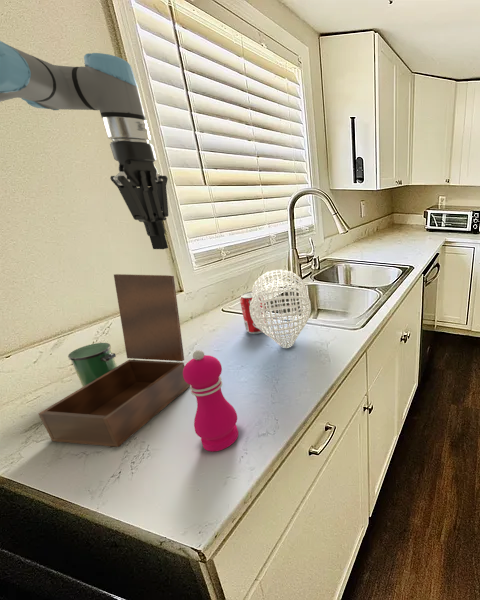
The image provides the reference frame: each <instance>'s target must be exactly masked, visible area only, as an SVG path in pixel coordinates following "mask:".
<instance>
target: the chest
mask: <svg viewBox="0 0 480 600" xmlns="http://www.w3.org/2000/svg"><path fill="white" fill-rule="evenodd" d="M184 366H185V363H184V362H183V361H166V360H148V359H128V360H125V361H124V362H122V363H121V364H119V365H117V367H116V368H114V369H112V370H111V371H109V372H107V373H106V374H104V375H102V376H101V377H99V378H97V379H96V380H94V381H92V382H90V383H89V384H87V385H85V386H84V387H82V386H81V387H80V388H79V389H77V390H75V391H74V392H72V393H70V394H68V395H67V396H66V397H64V398H62V399H60V400H58V401H57V402H55V403H53V404H52V405H50V406H49V407H47V408H45V409H43V410H41V411H39V412H38V417H39V418H40V420H41V422H42V424H43V426H44V428H45V430H46V432H47V434H48V436H49V438H50V440H51V441H52V442H58V443H69V444H70V443H71V444H78V445H79V444H81V445H92V446H102V447H115V448H119V447H120V446H121V445H123V443H125V442H126V441H127V440H128V439H130V438H131V437H132V436H133V435H134V434H135V433H137V432H138V431H140V429H141V428H142V427H144V426H146V424H147V423H149V422H150V421H151V420H152V419H153V418H155V416H157V415H159V413H160V412H161V411H162V410H164V409H165V408H167V407H168V406H169V405H170V404H171V403H172V402H173V401H174V400H176V399H177V398H179V396H180V395H182V394H183V393H184V392H185V391H186V390H187V389H189V388H190V385H189V384H188V383H186V382H185V380H184V378H183V369H184Z"/></svg>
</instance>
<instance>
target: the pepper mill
mask: <svg viewBox="0 0 480 600" xmlns="http://www.w3.org/2000/svg"><path fill="white" fill-rule="evenodd" d="M222 368H223V367H222V364H221V362H220V360H219V359H218V358H217V357H216V356H213V355H209V354H206V355H205V352H204V351H203V350H201V349H197V350H194V351H193V353H192V358H191V359H190V360H188V362H186V364H184V369H183V378H184V380H185V382H186V383H188V384H189V385H190V387H189V389H190V391H191V392H190V393H191V394H192V395H193V396H194V397H195V398H196V404H197V407H196V412H195V416H194V422H193V426H194V432H195V434H196V435H197V437H199V438H200V442H201V445H202V447H203V449H204V450H205V451H207V452H219V451H222V450H225V449H227V448H228V447H230V446H231V445H233V444H234V443H235V442H236V440H237V439H238V437H239V430H238V426H237V422H238V414H237V411H236V409H235V408H234V406H233V405H232V404H231V403H230V402H229V401H228V400H227V399H226V398H225V396H224V394H223V392H222V386H223V381H222V377H221V374H222V371H223V369H222Z"/></svg>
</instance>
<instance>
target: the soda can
mask: <svg viewBox="0 0 480 600" xmlns="http://www.w3.org/2000/svg"><path fill="white" fill-rule="evenodd" d="M258 296H259V295H258ZM252 298H253V297H252V291H246V292H244V293H241V295H240V300H239V303H240V307H241V313H242V317H243V321H244V327H245V331H246V332H247V333H248V334H250V335H260V334H262V333H263V332H262V331H261V330H260V329H259V328H257V326H256V325H255V324H254V322H253V320H252V318H251V315H250V302H251V300H252ZM263 299H264V300H265V298H264V296H263ZM259 300H260V301H261V298H259ZM260 304H262V303H260ZM264 305H266V303H265V302H264ZM257 307H258V306H257ZM260 307H261V308H262V306H261V305H260ZM257 309H258V308H257ZM265 309H266V307H265ZM260 310H261V309H260ZM253 311H254V310H253ZM260 312H261V311H260ZM265 312H266V314H267V311H265ZM261 313H262V312H261ZM262 314H263V313H262ZM254 316H255V315H254ZM261 316H262V315H261ZM264 316H265V315H264ZM262 317H263V316H262ZM266 317H267V315H266ZM256 321H257V320H256ZM260 322H261V321H260ZM264 322H265V321H264ZM265 323H266V322H265ZM263 324H264V323H263ZM266 328H267V327H266ZM267 329H268V328H267ZM263 334H264V333H263Z"/></svg>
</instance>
